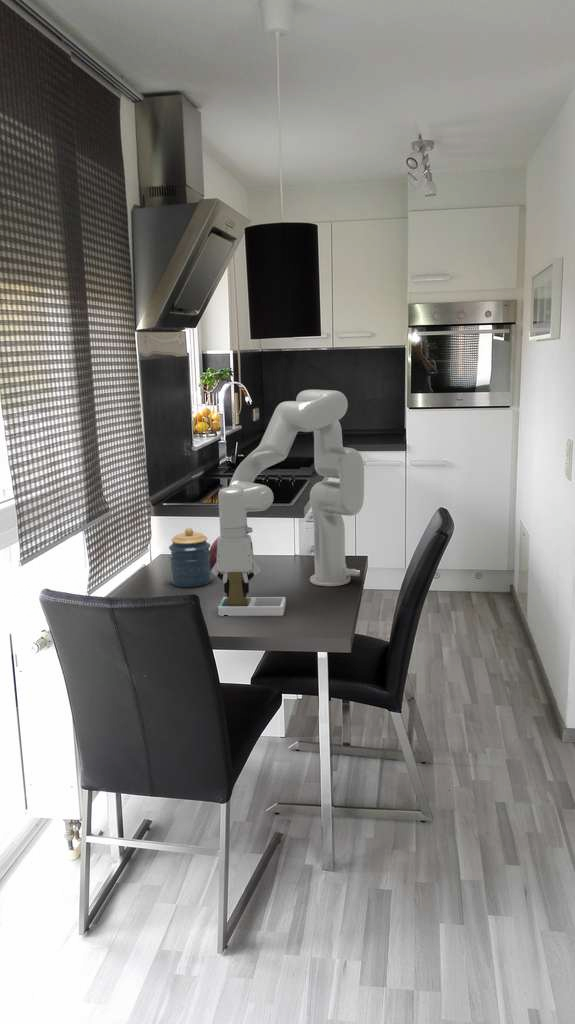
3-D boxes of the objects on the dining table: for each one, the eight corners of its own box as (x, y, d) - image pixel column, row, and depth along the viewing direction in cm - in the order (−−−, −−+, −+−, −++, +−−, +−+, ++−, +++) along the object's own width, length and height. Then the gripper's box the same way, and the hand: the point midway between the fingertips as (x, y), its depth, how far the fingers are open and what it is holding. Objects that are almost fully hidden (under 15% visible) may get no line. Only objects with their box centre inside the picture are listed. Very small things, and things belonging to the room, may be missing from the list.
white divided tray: (285, 605, 236) (285, 596, 236) (283, 615, 227) (282, 607, 227) (223, 605, 238) (223, 597, 237) (218, 615, 229) (218, 607, 228)
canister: (192, 574, 271) (189, 521, 268) (220, 580, 263) (218, 526, 260) (162, 583, 262) (159, 529, 258) (191, 590, 253) (187, 534, 250)
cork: (244, 609, 229) (243, 571, 227) (223, 609, 230) (222, 570, 228) (250, 603, 235) (248, 566, 233) (229, 603, 236) (228, 565, 234)
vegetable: (241, 574, 281) (251, 533, 277) (223, 578, 272) (234, 535, 268) (217, 563, 286) (227, 523, 282) (198, 567, 277) (209, 525, 273)
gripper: (265, 528, 231) (267, 591, 235) (206, 529, 233) (209, 591, 237) (262, 534, 224) (265, 599, 228) (201, 535, 225) (205, 599, 229)
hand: (236, 594), depth 232 cm, fingers closed on cork, 4 cm apart
